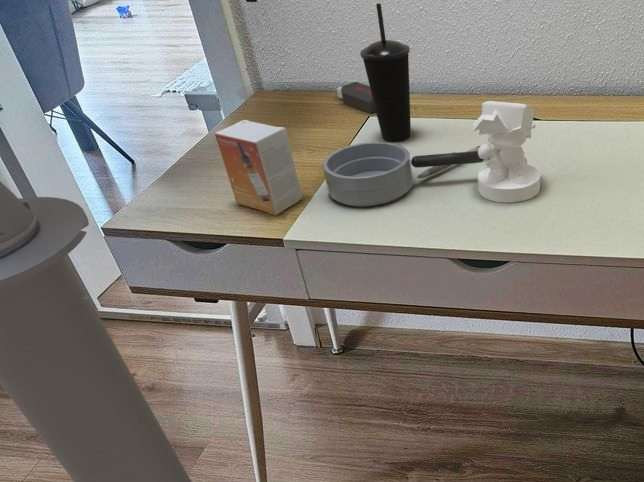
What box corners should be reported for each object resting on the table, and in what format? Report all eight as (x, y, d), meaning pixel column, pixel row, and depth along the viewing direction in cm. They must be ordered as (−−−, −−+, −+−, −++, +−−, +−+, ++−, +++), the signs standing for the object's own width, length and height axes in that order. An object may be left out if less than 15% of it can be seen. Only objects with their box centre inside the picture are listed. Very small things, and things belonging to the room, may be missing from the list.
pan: (324, 212, 86) (317, 181, 83) (334, 173, 96) (328, 145, 93) (412, 205, 86) (408, 174, 83) (413, 167, 96) (410, 138, 93)
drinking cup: (398, 149, 101) (379, 12, 88) (364, 140, 105) (341, 7, 92) (428, 132, 106) (414, 0, 93) (395, 124, 109) (377, -4, 96)
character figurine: (468, 197, 87) (462, 110, 79) (494, 168, 93) (491, 85, 86) (528, 206, 84) (528, 117, 76) (550, 176, 90) (553, 90, 82)
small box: (236, 204, 90) (212, 132, 83) (264, 188, 93) (243, 118, 86) (276, 216, 86) (254, 142, 79) (304, 199, 90) (285, 126, 83)
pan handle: (411, 170, 89) (410, 159, 88) (411, 165, 90) (410, 154, 89) (486, 163, 89) (485, 153, 87) (485, 159, 90) (484, 148, 89)
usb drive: (371, 113, 114) (369, 98, 113) (334, 100, 121) (331, 85, 120) (393, 105, 117) (391, 90, 115) (356, 92, 124) (354, 78, 122)
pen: (487, 152, 98) (486, 144, 97) (420, 184, 91) (419, 175, 90) (482, 151, 98) (482, 142, 98) (415, 182, 91) (414, 173, 91)
